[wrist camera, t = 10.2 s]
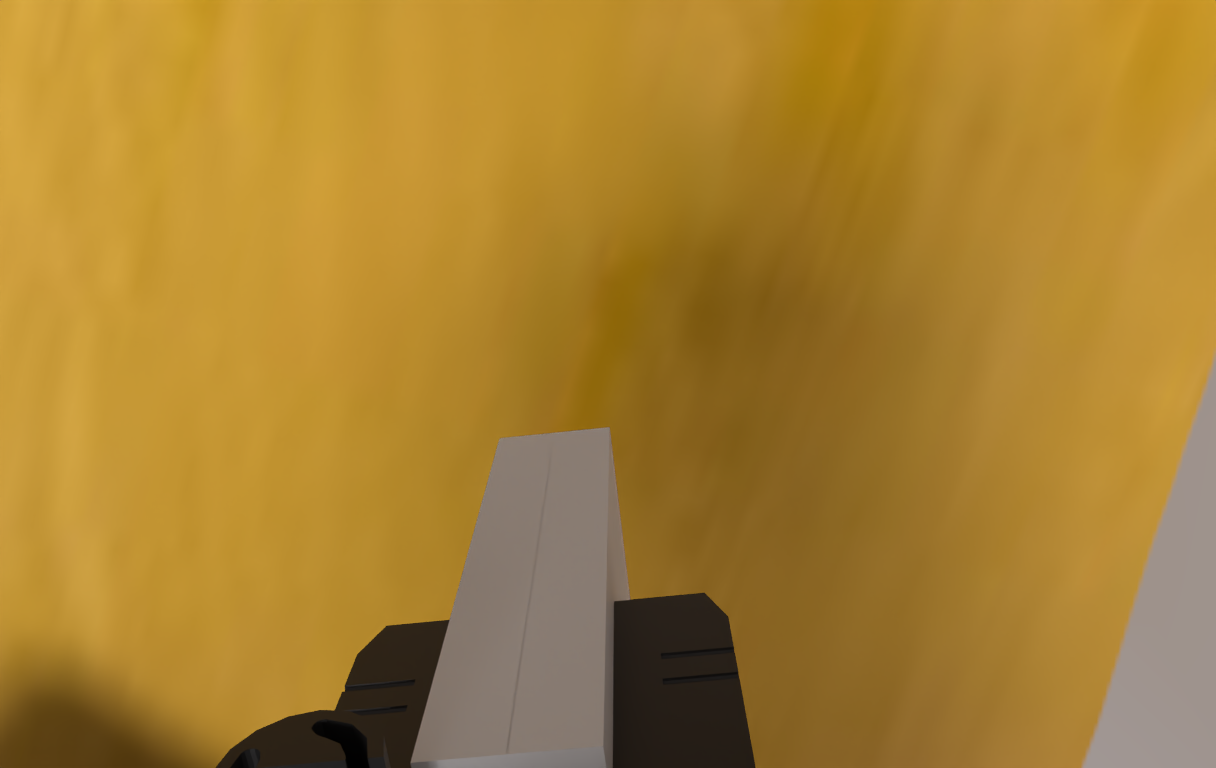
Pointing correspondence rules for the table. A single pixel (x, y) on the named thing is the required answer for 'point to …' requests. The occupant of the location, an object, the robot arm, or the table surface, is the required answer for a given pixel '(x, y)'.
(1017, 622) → the table surface
